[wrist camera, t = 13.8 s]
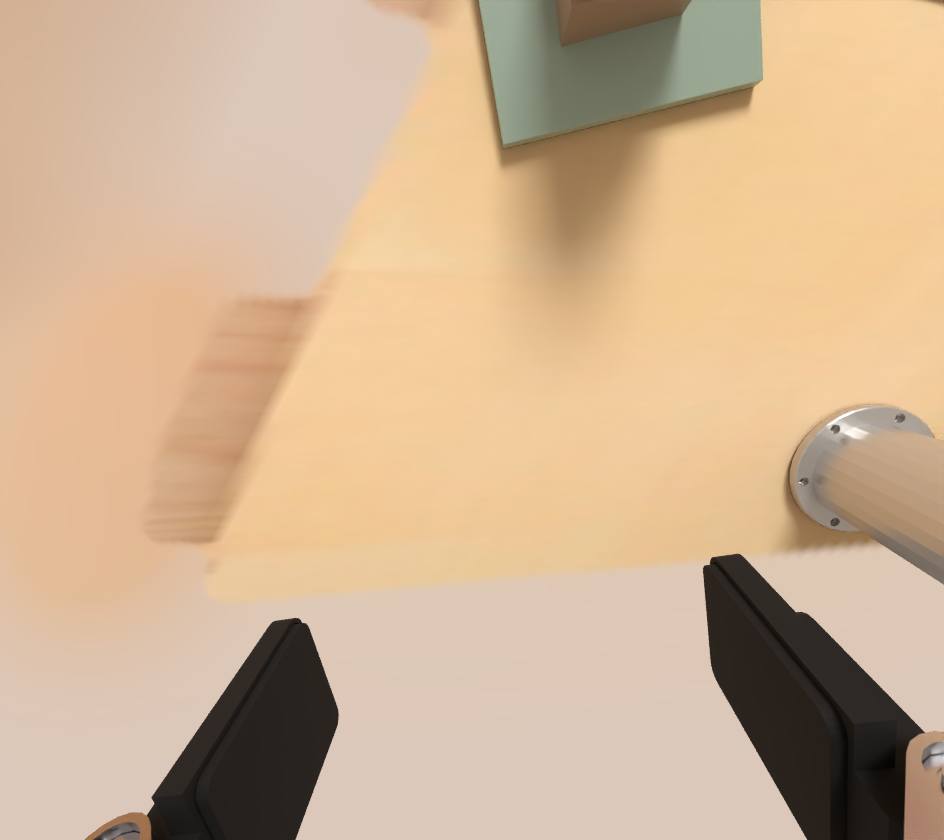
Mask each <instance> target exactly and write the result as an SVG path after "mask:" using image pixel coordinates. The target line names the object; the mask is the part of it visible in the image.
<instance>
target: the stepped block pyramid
mask: <svg viewBox="0 0 944 840" xmlns="http://www.w3.org/2000/svg"><path fill="white" fill-rule="evenodd" d="M478 3H479V9H480V15H481V21H482V27H483V33H484V39H485V45H486V51H487V56H488V62H489V68H490V74H491V80H492V86H493V92H494V98H495V104H496V110H497V116H498V122H499V128H500V134H501V139H502V145H503V149H505V148H509V147H513V146H517V145H521V144H525V143H529V142H533V141H537V140H541V139H545V138H549V137H553V136H557V135H561V134H565V133H570V132H574V131H578V130H582V129H586V128H590V127H594V126H598V125H602V124H606V123H610V122H614V121H618V120H622V119H626V118H630V117H634V116H638V115H642V114H646V113H650V112H654V111H658V110H662V109H666V108H670V107H674V106H678V105H682V104H686V103H690V102H694V101H698V100H702V99H706V98H710V97H714V96H718V95H722V94H726V93H730V92H734V91H738V90H742V89H746V88H751V87H754V86H755V85H757V84H758V83H759V82H760V81H762V80H763V68H762V38H761V8H760V0H478Z"/></svg>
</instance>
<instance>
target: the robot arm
mask: <svg viewBox="0 0 944 840" xmlns="http://www.w3.org/2000/svg"><path fill="white" fill-rule="evenodd" d="M790 487H791V493H792V495H793V497H794V499H795V502H796V504H797V505H798V506H799V507H800V509H801V510H802V511H803V512H804V513H805V514H806V515H808V516H809V517H810V518H811V519H813V520H815V521H816V522H818V523H819V524H821V525H823V526H825V527H827V528H830V529H833V530H838V531H844V532H860V531H862V532H863V533H865V534H866V535H868V536H869V537H871V538H873V539H874V540H876V541H877V542H879V543H880V544H882V545H883V546H885V547H887V548H888V549H890V550H891V551H893V552H894V553H896V554H897V555H899V556H900V557H902V558H904V559H905V560H907V561H908V562H910V563H911V564H913V565H914V566H916V567H917V568H919V569H921V570H922V571H924V572H925V573H927V574H928V575H930V576H931V577H933V578H934V579H936V580H938V581H939V582H941V583H942V584H944V441H942V440H939V439H936V438H935V437H934V434H933V433H932V431H931V430H930V428H929V427H928V425H927V424H926V423H924V422H923V421H922V420H921V419H920V418H919V417H917V416H916V415H914V414H912V413H910V412H908V411H905V410H902V409H899V408H896V407H892V406H886V405H881V404H867V405H861V406H855V407H851V408H848V409H845V410H843V411H840V412H838V413H836V414H834V415H832V416H830V417H828V418H826V419H825V420H824V421H822V422H821V423H820V424H818V425H817V426H816V427H815V428H814V429H813V430H812V431H811V432H810V433H809V434H808V435H807V436H806V437H805V438H804V440H803V441H802V443H801V444H800V446H799V447H798V449H797V451H796V453H795V455H794V458H793V460H792V464H791V468H790ZM703 574H704V587H705V599H706V611H707V622H708V635H709V647H710V658H711V666H712V670H713V673H714V676H715V678H716V681H717V682H718V684H719V686H720V688H721V689H722V691H723V693H724V695H725V697H726V698H727V700H728V702H729V703H730V705H731V707H732V709H733V711H734V712H735V714H736V716H737V718H738V719H739V721H740V723H741V724H742V726H743V728H744V730H745V732H746V733H747V735H748V737H749V738H750V740H751V742H752V744H753V745H754V747H755V749H756V751H757V752H758V754H759V756H760V758H761V760H762V761H763V763H764V765H765V767H766V768H767V770H768V772H769V773H770V775H771V777H772V779H773V781H774V782H775V784H776V786H777V788H778V789H779V791H780V793H781V795H782V796H783V798H784V800H785V801H786V803H787V805H788V807H789V809H790V810H791V812H792V814H793V816H794V817H795V819H796V821H797V823H798V824H799V826H800V828H801V830H802V831H803V833H804V835H805V837H806V838H807V840H944V732H938V731H933V732H928V733H925V732H924V731H923V730H922V729H921V728H920V727H919V726H918V725H917V724H916V723H915V722H914V721H913V720H912V719H911V718H910V717H909V716H908V715H907V714H906V713H905V712H904V711H903V710H902V709H901V708H900V707H899V706H898V705H897V704H896V703H895V702H894V701H893V700H892V698H891V697H890V696H889V695H888V694H887V693H886V692H885V691H884V690H883V689H882V688H881V687H880V686H879V685H878V684H877V683H876V682H875V681H874V680H873V679H872V678H871V677H870V676H869V675H868V674H867V673H866V672H865V671H864V670H863V669H862V668H861V667H860V666H859V665H858V664H857V663H856V662H855V661H854V660H853V659H852V658H851V657H850V656H849V655H848V654H847V653H846V652H845V651H844V650H843V648H842V647H841V646H839V644H838V643H837V642H836V641H835V640H834V639H833V638H831V636H830V635H829V634H828V633H827V632H826V631H825V630H824V629H823V628H822V627H821V626H820V625H819V624H818V623H817V622H816V621H815V620H814V619H813V618H811V617H810V616H809V615H808V614H806V613H803V612H797V613H796V612H795V611H794V610H793V609H792V608H791V607H790V606H789V605H788V604H787V603H786V601H785V600H783V598H782V597H781V596H780V595H779V594H778V593H777V592H776V591H775V590H774V589H773V588H772V587H771V586H770V585H769V583H767V581H766V580H765V579H764V578H763V577H762V576H761V575H760V574H759V573H758V572H757V571H756V570H755V569H754V568H753V567H752V566H751V564H750V563H749V562H748V561H747V560H746V559H745V558H744V557H743V556H742V555H740V554H733V555H726V556H719V557H713V558H711V561H710V565H705V566H704V568H703ZM338 716H339V714H338V708H337V705H336V702H335V699H334V696H333V694H332V691H331V688H330V685H329V683H328V680H327V677H326V674H325V671H324V668H323V666H322V663H321V660H320V657H319V654H318V652H317V649H316V646H315V643H314V640H313V638H312V635H311V632H310V629H309V627H308V625H307V624H306V623H302V622H301V620H300V619H299V618H293V619H285V620H278V621H274V622H272V623H271V624H270V626H269V627H268V628H267V630H266V632H265V633H264V634H263V636H262V638H261V639H260V640H259V642H258V643H257V645H256V646H255V647H254V649H253V650H252V652H251V653H250V655H249V656H248V658H247V659H246V660H245V662H244V663H243V665H242V666H241V668H240V669H239V671H238V672H237V674H236V675H235V677H234V678H233V680H232V681H231V682H230V684H229V685H228V687H227V688H226V690H225V691H224V693H223V694H222V695H221V697H220V698H219V700H218V701H217V703H216V704H215V706H214V707H213V709H212V710H211V711H210V713H209V714H208V716H207V717H206V719H205V720H204V722H203V723H202V725H201V726H200V728H199V729H198V730H197V732H196V733H195V735H194V736H193V738H192V739H191V741H190V742H189V744H188V745H187V746H186V748H185V749H184V751H183V752H182V754H181V755H180V757H179V758H178V760H177V761H176V763H175V764H174V765H173V767H172V768H171V770H170V771H169V773H168V774H167V776H166V777H165V779H164V780H163V782H162V783H161V784H160V786H159V787H158V789H157V790H156V792H155V793H154V795H153V796H152V800H153V801H154V803H155V804H154V805H153V807H152V808H151V810H150V811H149V813H148V815H147V816H146V815H144V814H143V813H128V814H125V815H122V816H119V817H117V818H115V819H113V820H111V821H110V822H108V823H106V824H104V825H103V826H101V827H100V828H99V829H97V830H96V831H95V832H93V833H92V834H91V835H89V836H88V837H87V838H86V839H85V840H295V839H296V836H297V834H298V831H299V828H300V826H301V823H302V820H303V817H304V815H305V812H306V809H307V807H308V804H309V801H310V799H311V796H312V793H313V790H314V788H315V785H316V782H317V780H318V777H319V774H320V771H321V769H322V766H323V763H324V760H325V758H326V755H327V752H328V750H329V747H330V744H331V742H332V739H333V736H334V733H335V731H336V728H337V725H338Z"/></svg>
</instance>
